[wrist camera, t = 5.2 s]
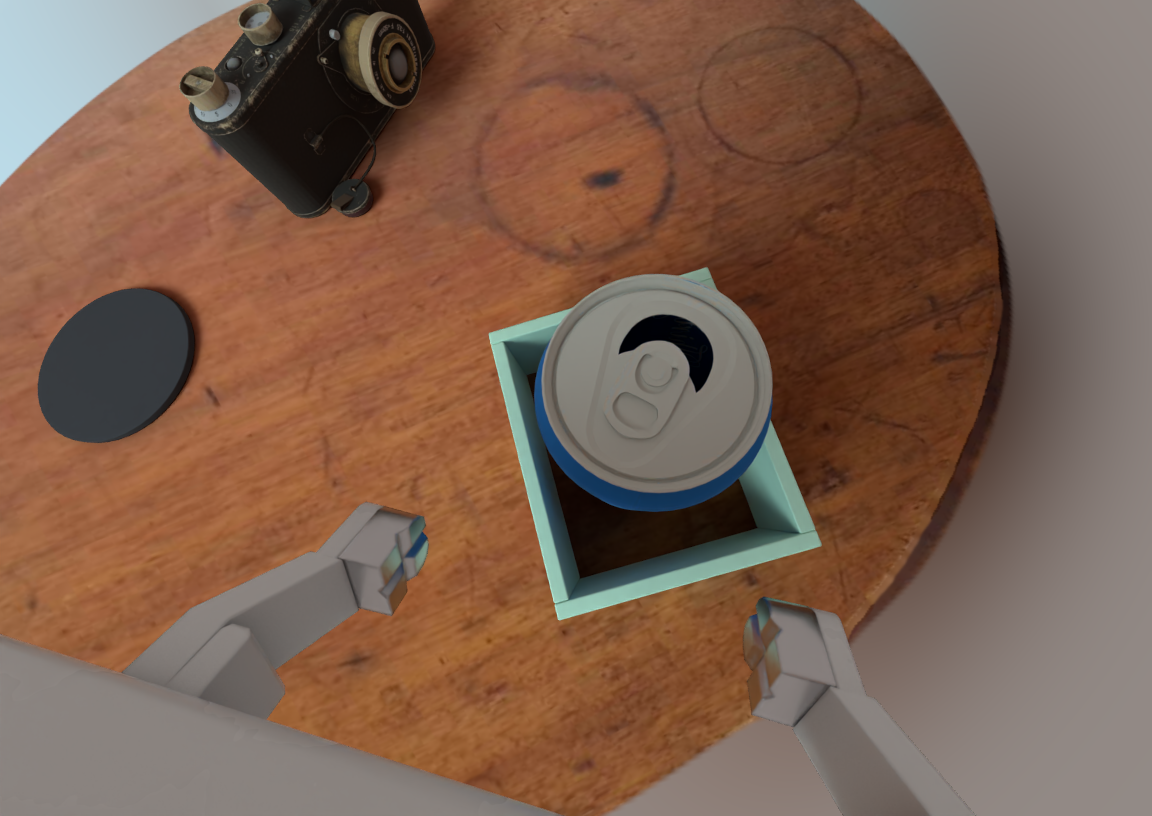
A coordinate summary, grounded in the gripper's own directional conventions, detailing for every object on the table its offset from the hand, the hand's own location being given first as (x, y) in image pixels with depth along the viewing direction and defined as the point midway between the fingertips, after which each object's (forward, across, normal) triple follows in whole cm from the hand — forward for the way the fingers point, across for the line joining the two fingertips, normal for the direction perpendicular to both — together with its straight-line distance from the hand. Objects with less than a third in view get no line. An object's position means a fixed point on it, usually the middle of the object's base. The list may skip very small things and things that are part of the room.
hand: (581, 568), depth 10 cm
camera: (+25, +20, -8) cm, 33 cm away
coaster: (+11, +31, +6) cm, 34 cm away
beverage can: (+12, -1, +5) cm, 12 cm away
